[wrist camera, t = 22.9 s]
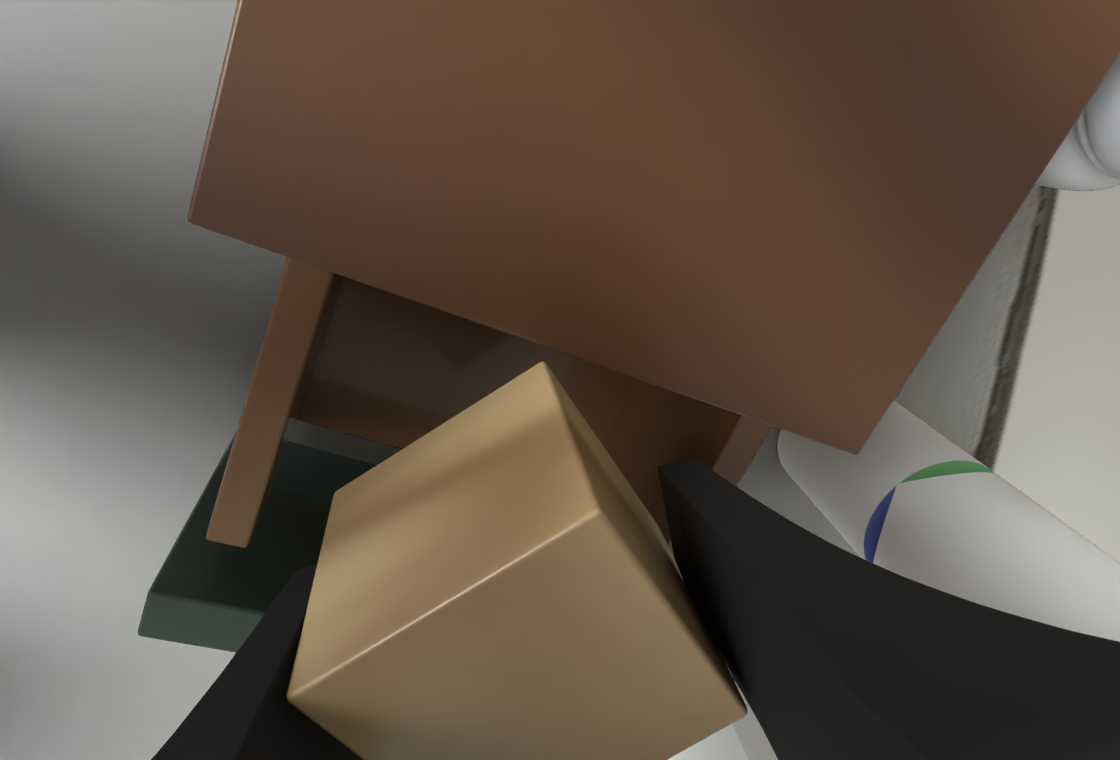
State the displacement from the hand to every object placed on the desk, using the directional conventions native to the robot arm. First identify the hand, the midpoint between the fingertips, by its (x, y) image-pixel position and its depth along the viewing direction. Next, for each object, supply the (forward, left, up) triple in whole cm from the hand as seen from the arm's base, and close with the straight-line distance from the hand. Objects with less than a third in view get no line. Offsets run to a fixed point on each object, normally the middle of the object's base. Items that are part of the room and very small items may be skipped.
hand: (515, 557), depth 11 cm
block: (0, 0, -1) cm, 1 cm away
